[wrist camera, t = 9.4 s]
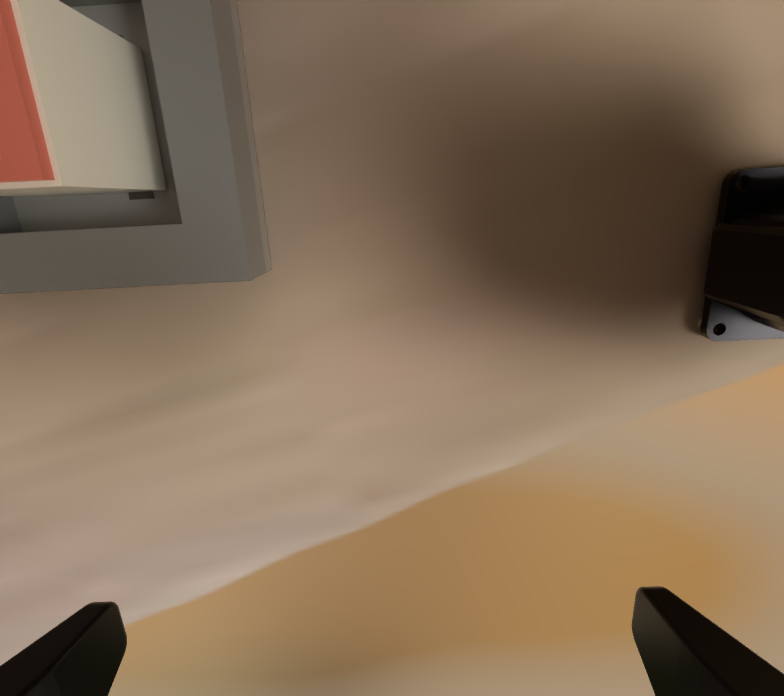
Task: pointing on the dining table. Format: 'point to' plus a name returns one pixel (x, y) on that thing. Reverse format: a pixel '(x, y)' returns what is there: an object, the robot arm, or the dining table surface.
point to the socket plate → (180, 165)
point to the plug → (72, 106)
